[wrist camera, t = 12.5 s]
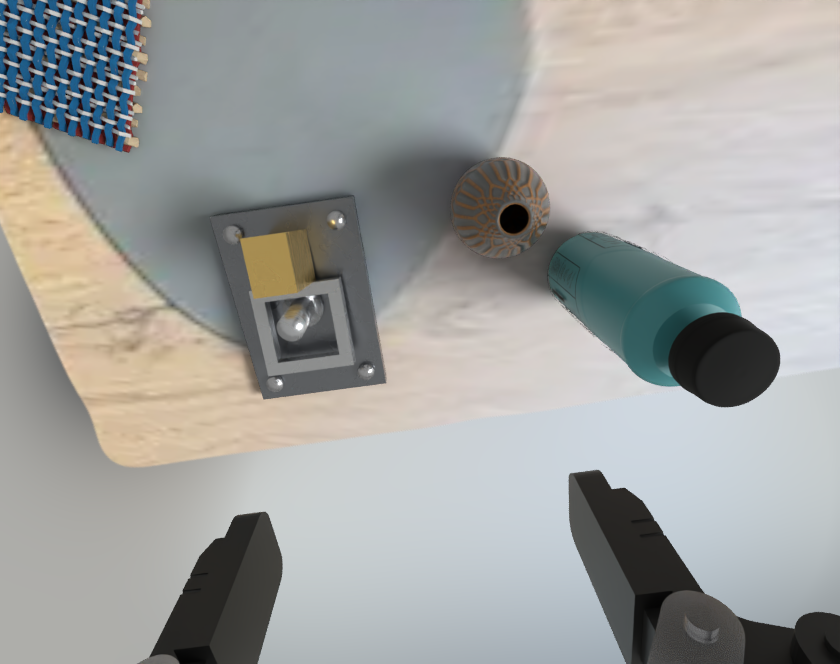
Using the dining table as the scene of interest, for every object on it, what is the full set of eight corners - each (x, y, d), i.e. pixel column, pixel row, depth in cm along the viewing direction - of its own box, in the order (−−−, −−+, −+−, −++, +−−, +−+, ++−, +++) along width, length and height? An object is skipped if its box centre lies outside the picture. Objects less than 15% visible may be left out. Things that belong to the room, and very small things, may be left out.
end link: (242, 238, 36) (209, 243, 30) (331, 225, 36) (315, 227, 30) (272, 371, 39) (247, 399, 33) (355, 360, 39) (345, 386, 33)
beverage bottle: (524, 277, 39) (631, 397, 21) (574, 208, 37) (744, 272, 19) (583, 316, 41) (734, 460, 22) (635, 252, 39) (848, 351, 20)
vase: (442, 161, 36) (454, 166, 28) (533, 151, 36) (571, 153, 27) (450, 251, 38) (462, 279, 30) (534, 241, 38) (570, 267, 30)
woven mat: (161, -5, 32) (145, -14, 30) (143, 155, 35) (129, 156, 33) (-6, -66, 30) (-33, -80, 28) (-6, 107, 34) (-30, 105, 32)
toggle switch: (214, 215, 37) (180, 228, 31) (353, 195, 36) (344, 204, 31) (266, 393, 42) (245, 431, 37) (386, 377, 42) (383, 413, 37)
